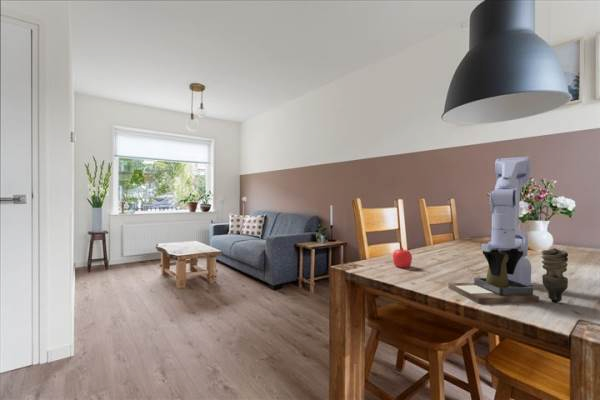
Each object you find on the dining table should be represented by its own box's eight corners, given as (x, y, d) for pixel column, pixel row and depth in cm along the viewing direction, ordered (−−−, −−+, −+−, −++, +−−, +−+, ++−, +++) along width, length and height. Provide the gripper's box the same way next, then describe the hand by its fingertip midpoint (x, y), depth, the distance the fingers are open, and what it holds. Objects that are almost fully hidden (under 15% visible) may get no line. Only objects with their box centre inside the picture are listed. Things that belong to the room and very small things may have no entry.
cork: (493, 290, 81) (494, 253, 81) (480, 284, 87) (481, 249, 87) (514, 291, 81) (515, 253, 81) (499, 284, 87) (500, 250, 87)
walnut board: (500, 286, 90) (500, 282, 90) (538, 301, 77) (538, 296, 77) (448, 287, 88) (448, 283, 88) (478, 303, 75) (478, 298, 75)
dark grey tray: (503, 283, 89) (503, 277, 89) (534, 294, 78) (534, 287, 78) (473, 284, 88) (473, 277, 87) (500, 295, 77) (500, 288, 77)
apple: (416, 268, 112) (416, 249, 112) (397, 269, 111) (398, 249, 111) (406, 264, 120) (406, 245, 120) (388, 264, 119) (388, 245, 119)
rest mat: (476, 285, 86) (476, 285, 86) (493, 293, 79) (493, 292, 79) (455, 286, 85) (455, 285, 85) (471, 294, 78) (471, 293, 78)
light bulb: (539, 301, 77) (540, 247, 77) (541, 296, 81) (542, 245, 81) (567, 307, 73) (568, 250, 73) (567, 302, 77) (569, 248, 77)
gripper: (507, 227, 89) (506, 269, 89) (472, 228, 84) (471, 272, 84) (531, 229, 82) (530, 275, 82) (495, 230, 78) (494, 279, 78)
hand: (502, 274), depth 83 cm, fingers closed on cork, 5 cm apart
